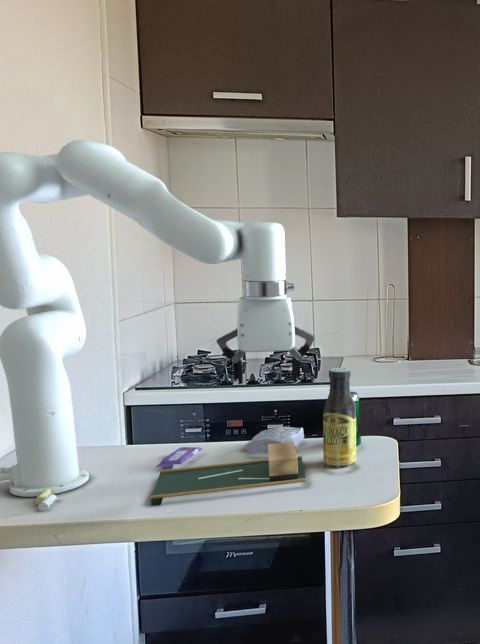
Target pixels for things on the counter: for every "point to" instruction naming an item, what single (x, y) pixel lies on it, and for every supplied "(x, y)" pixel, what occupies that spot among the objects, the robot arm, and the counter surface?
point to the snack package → (178, 456)
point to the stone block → (274, 438)
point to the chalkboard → (217, 478)
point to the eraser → (282, 461)
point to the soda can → (357, 417)
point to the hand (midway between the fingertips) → (267, 381)
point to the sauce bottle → (339, 422)
